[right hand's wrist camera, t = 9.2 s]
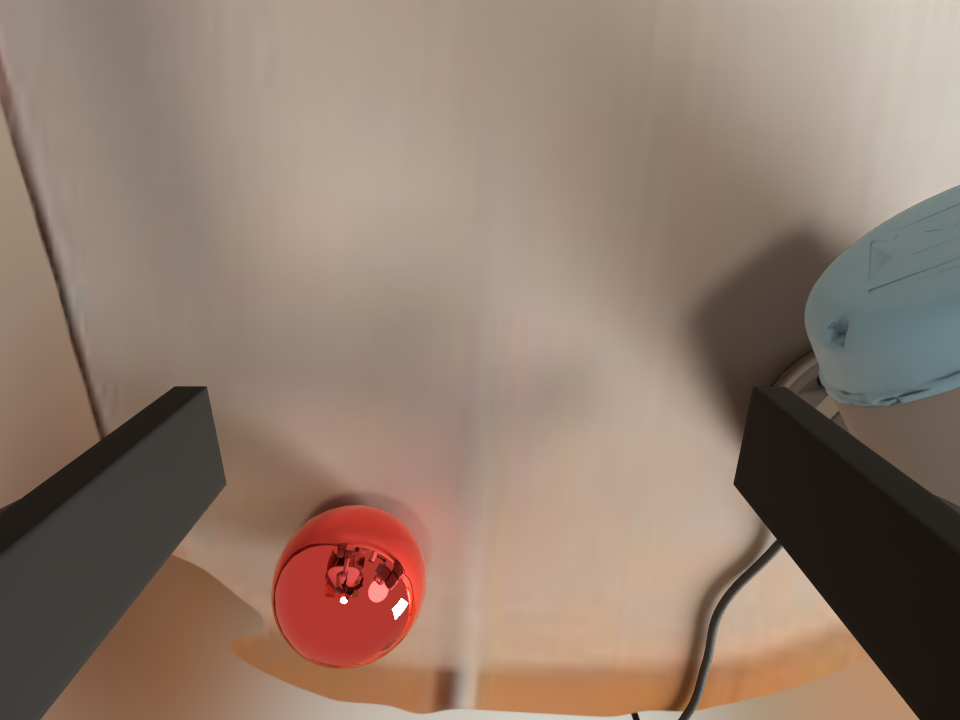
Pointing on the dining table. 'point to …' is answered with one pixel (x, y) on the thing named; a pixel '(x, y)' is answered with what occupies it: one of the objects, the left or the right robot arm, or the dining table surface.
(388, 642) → the ball
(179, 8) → the dining table surface
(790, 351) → the dining table surface
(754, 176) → the dining table surface
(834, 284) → the left robot arm
